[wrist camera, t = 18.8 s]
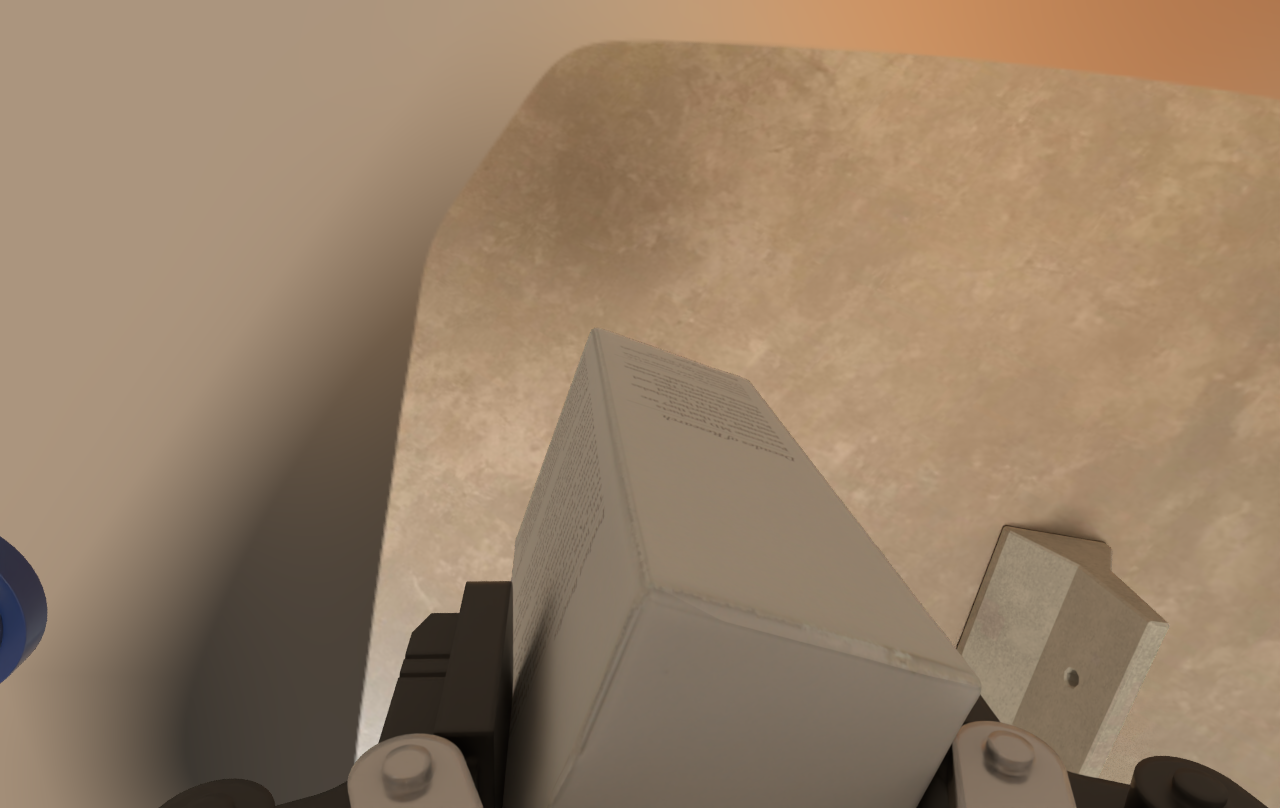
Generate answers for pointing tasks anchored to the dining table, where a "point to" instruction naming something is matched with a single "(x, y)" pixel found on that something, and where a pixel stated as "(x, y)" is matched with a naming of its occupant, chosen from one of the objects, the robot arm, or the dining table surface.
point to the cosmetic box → (710, 613)
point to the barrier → (1060, 643)
